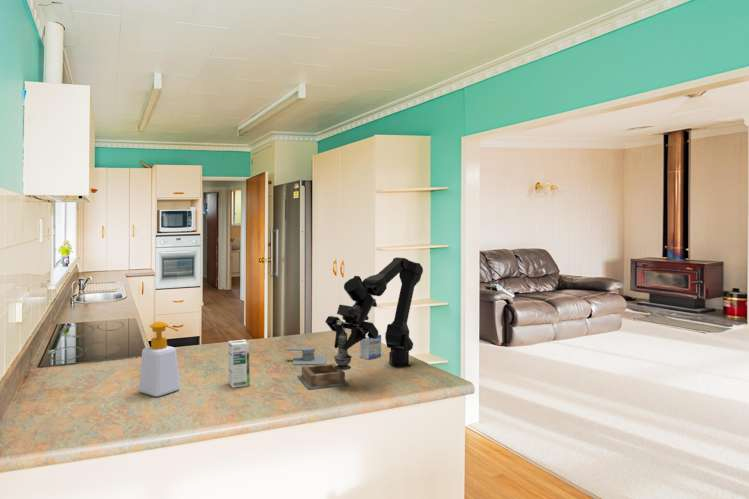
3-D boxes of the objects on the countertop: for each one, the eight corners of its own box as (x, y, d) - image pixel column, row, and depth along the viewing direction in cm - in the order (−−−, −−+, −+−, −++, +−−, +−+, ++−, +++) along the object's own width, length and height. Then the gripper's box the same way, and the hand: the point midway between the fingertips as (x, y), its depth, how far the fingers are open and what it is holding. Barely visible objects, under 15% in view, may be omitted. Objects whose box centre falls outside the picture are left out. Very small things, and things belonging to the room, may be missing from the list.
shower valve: (287, 343, 216) (326, 343, 217) (287, 357, 216) (325, 357, 217) (285, 352, 203) (325, 351, 205) (285, 366, 204) (325, 366, 205)
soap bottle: (165, 401, 164) (164, 328, 163) (136, 392, 172) (135, 322, 170) (191, 392, 172) (190, 322, 171) (163, 384, 180) (162, 317, 178)
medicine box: (368, 359, 213) (368, 337, 212) (359, 357, 216) (360, 335, 215) (381, 355, 219) (381, 334, 218) (372, 353, 222) (373, 332, 221)
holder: (335, 373, 195) (335, 362, 195) (349, 384, 182) (349, 373, 182) (297, 377, 190) (297, 365, 189) (308, 389, 177) (308, 377, 176)
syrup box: (232, 388, 177) (232, 344, 176) (228, 383, 182) (227, 340, 181) (249, 386, 180) (249, 342, 179) (245, 380, 185) (245, 338, 184)
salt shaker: (334, 365, 182) (334, 329, 181) (352, 365, 182) (352, 329, 181) (332, 370, 176) (332, 333, 175) (351, 370, 176) (351, 333, 175)
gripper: (328, 292, 186) (306, 330, 178) (373, 298, 175) (352, 338, 167) (343, 311, 193) (322, 349, 185) (387, 318, 182) (367, 358, 174)
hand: (340, 348), depth 177 cm, fingers closed on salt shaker, 4 cm apart
